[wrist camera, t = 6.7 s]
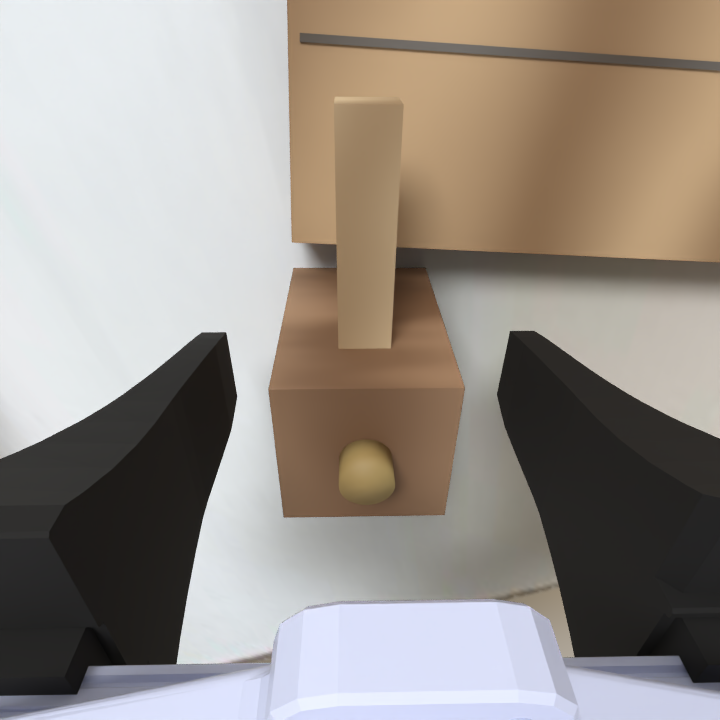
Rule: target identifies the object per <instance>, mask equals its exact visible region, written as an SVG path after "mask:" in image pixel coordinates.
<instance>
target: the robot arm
mask: <svg viewBox="0 0 720 720" xmlns="http://www.w3.org/2000/svg"><path fill="white" fill-rule="evenodd" d="M497 396H498V401H499V405H500V409H501V414H502V418H503V421H504V425H505V428H506V431H507V434H508V436H509V439H510V441H511V444H512V446H513V449H514V451H515V454H516V456H517V458H518V461H519V463H520V466H521V468H522V471H523V473H524V475H525V478H526V480H527V483H528V485H529V487H530V490H531V492H532V495H533V497H534V500H535V503H536V505H537V508H538V511H539V514H540V517H541V521H542V524H543V528H544V531H545V535H546V538H547V542H548V545H549V549H550V553H551V557H552V561H553V564H554V568H555V572H556V576H557V580H558V584H559V588H560V592H561V597H562V600H563V605H564V610H565V614H566V618H567V623H568V627H569V631H570V636H571V641H572V646H573V651H574V656H575V657H574V658H573V657H572V658H571V657H570V658H562V655H561V652H560V649H559V646H558V644H557V641H556V637H555V634H554V632H553V629H552V626H551V623H550V620H549V619H548V618H546V617H544V616H543V615H542V614H540V613H538V612H537V611H535V610H534V609H533V608H531V607H529V606H527V605H526V604H524V603H518V602H511V601H504V600H497V599H462V600H396V601H339V602H333V603H327V604H320V605H314V606H308V607H306V608H305V609H303V610H301V611H300V612H298V613H296V614H295V615H293V616H291V617H289V618H288V619H286V620H285V621H284V622H282V623H281V624H280V625H279V628H278V631H277V634H276V637H275V640H274V644H273V652H272V661H271V663H229V664H176V663H177V656H178V649H179V642H180V636H181V630H182V624H183V618H184V612H185V606H186V600H187V595H188V589H189V584H190V579H191V573H192V568H193V563H194V558H195V553H196V548H197V543H198V539H199V534H200V529H201V524H202V520H203V516H204V512H205V509H206V505H207V502H208V499H209V496H210V493H211V490H212V487H213V484H214V481H215V478H216V475H217V472H218V469H219V466H220V463H221V460H222V457H223V454H224V451H225V447H226V444H227V441H228V438H229V435H230V432H231V428H232V423H233V418H234V412H235V406H236V400H237V393H236V387H235V381H234V375H233V370H232V364H231V358H230V352H229V346H228V340H227V335H226V332H220V333H201V334H199V335H198V336H197V337H195V338H194V339H193V340H192V341H190V342H189V343H188V344H187V345H186V346H184V347H183V348H182V349H181V350H180V351H179V352H177V353H176V354H175V355H174V356H173V357H171V358H170V359H169V360H168V361H166V362H165V363H164V364H163V365H162V366H160V367H159V368H158V369H157V370H155V371H154V372H153V373H152V374H150V375H149V376H148V377H146V378H145V379H144V380H142V381H141V382H139V383H138V384H137V385H135V386H134V387H133V388H131V389H130V390H129V391H127V392H126V393H125V394H123V395H122V396H120V397H119V398H117V399H116V400H114V401H113V402H111V403H110V404H108V405H107V406H105V407H103V408H102V409H100V410H98V411H97V412H95V413H93V414H92V415H90V416H88V417H87V418H85V419H83V420H81V421H80V422H78V423H76V424H74V425H72V426H70V427H68V428H66V429H64V430H62V431H60V432H58V433H56V434H54V435H52V436H51V437H49V438H47V439H45V440H43V441H41V442H39V443H36V444H34V445H32V446H30V447H27V448H25V449H23V450H21V451H18V452H16V453H14V454H11V455H9V456H7V457H4V458H2V459H0V720H720V439H719V438H717V437H714V436H712V435H710V434H708V433H705V432H703V431H701V430H698V429H696V428H694V427H691V426H689V425H687V424H685V423H682V422H680V421H678V420H676V419H674V418H672V417H670V416H668V415H666V414H664V413H662V412H660V411H658V410H656V409H654V408H652V407H651V406H649V405H647V404H645V403H643V402H641V401H639V400H638V399H636V398H634V397H632V396H631V395H629V394H627V393H626V392H624V391H622V390H621V389H619V388H618V387H616V386H614V385H613V384H611V383H609V382H608V381H606V380H605V379H603V378H602V377H600V376H599V375H597V374H596V373H594V372H593V371H591V370H590V369H588V368H587V367H586V366H584V365H583V364H581V363H580V362H578V361H577V360H576V359H574V358H573V357H571V356H570V355H569V354H567V353H566V352H564V351H563V350H562V349H560V348H559V347H557V346H556V345H555V344H553V343H552V342H550V341H549V340H548V339H546V338H545V337H543V336H542V335H540V334H538V333H537V332H535V331H510V334H509V339H508V344H507V349H506V354H505V359H504V363H503V368H502V373H501V378H500V383H499V388H498V392H497Z"/></svg>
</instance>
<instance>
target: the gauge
mask: <svg viewBox="0 0 720 720" xmlns="http://www.w3.org/2000/svg"><path fill="white" fill-rule="evenodd" d="M403 109H404V104H403V103H402V101H401V100H400V99H399V97H335V99H334V137H335V191H336V245H337V268H293V273H292V278H291V283H290V288H289V293H288V297H287V302H286V307H285V312H284V317H283V322H282V326H281V331H280V336H279V341H278V346H277V351H276V356H275V360H274V365H273V370H272V375H271V380H270V385H269V389H268V390H269V398H270V407H271V415H272V423H273V432H274V440H275V448H276V457H277V465H278V473H279V482H280V490H281V498H282V507H283V515H284V517H347V516H411V515H444V514H445V508H446V502H447V496H448V490H449V483H450V477H451V471H452V465H453V459H454V452H455V446H456V440H457V434H458V428H459V421H460V415H461V409H462V403H463V397H464V390H465V387H464V384H463V381H462V378H461V374H460V371H459V368H458V365H457V362H456V359H455V356H454V353H453V350H452V347H451V344H450V341H449V338H448V335H447V332H446V329H445V326H444V323H443V320H442V317H441V314H440V311H439V307H438V304H437V301H436V298H435V295H434V292H433V289H432V286H431V283H430V280H429V277H428V274H427V271H426V268H395V261H396V242H397V223H398V204H399V185H400V166H401V147H402V128H403Z"/></svg>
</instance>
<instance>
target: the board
mask: <svg viewBox="0 0 720 720" xmlns="http://www.w3.org/2000/svg"><path fill="white" fill-rule="evenodd" d="M287 16H288V68H289V120H290V172H291V224H292V242H295V243H317V244H336V191H335V137H334V99H335V97H399V99H400V100H401V101H402V103H403V104H404V109H403V128H402V147H401V166H400V185H399V204H398V223H397V242H396V247H402V248H424V249H445V250H466V251H488V252H509V253H531V254H552V255H573V256H595V257H616V258H638V259H659V260H680V261H702V262H720V0H287Z"/></svg>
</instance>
